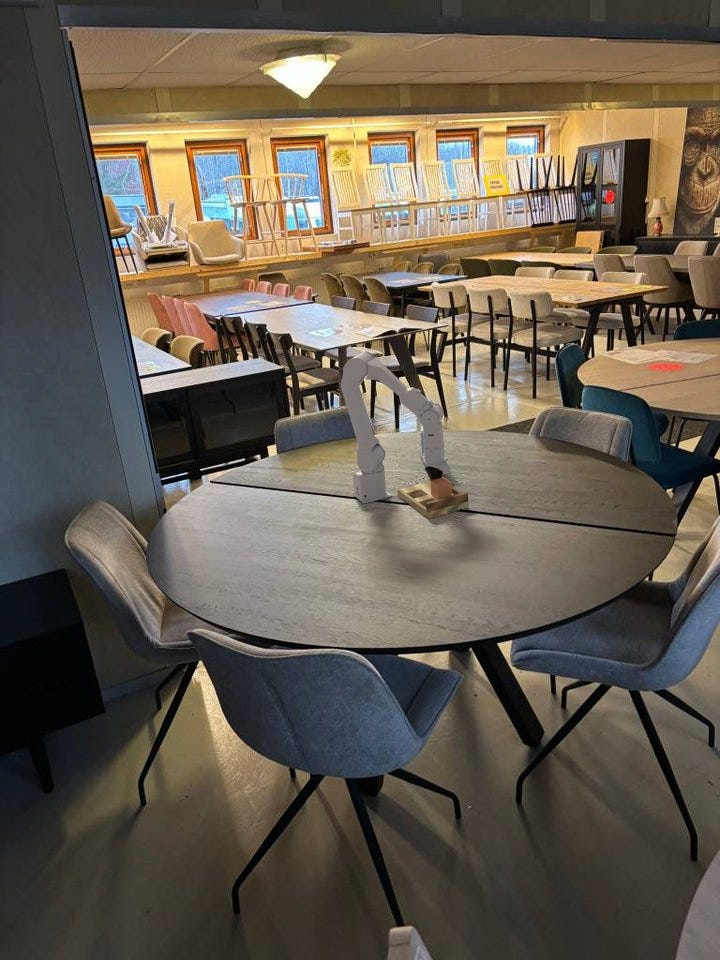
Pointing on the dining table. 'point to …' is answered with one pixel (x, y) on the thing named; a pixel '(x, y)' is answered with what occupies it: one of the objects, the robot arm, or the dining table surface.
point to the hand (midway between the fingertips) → (436, 489)
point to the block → (441, 488)
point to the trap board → (433, 500)
